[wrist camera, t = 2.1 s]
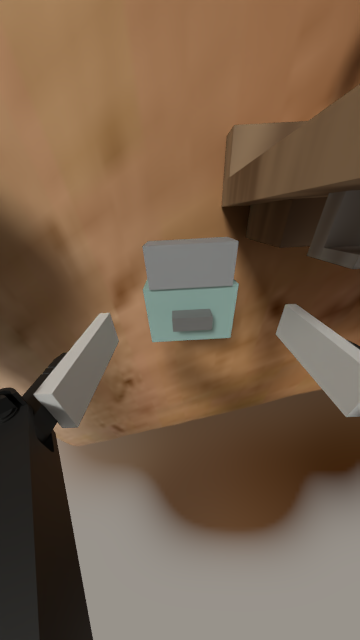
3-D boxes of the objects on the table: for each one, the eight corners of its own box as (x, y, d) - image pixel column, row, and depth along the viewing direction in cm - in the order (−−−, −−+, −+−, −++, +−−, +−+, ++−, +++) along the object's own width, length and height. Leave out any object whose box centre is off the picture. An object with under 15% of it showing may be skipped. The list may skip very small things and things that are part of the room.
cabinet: (160, 303, 22) (152, 357, 14) (151, 233, 18) (131, 249, 9) (210, 301, 22) (233, 353, 14) (215, 230, 18) (253, 242, 9)
